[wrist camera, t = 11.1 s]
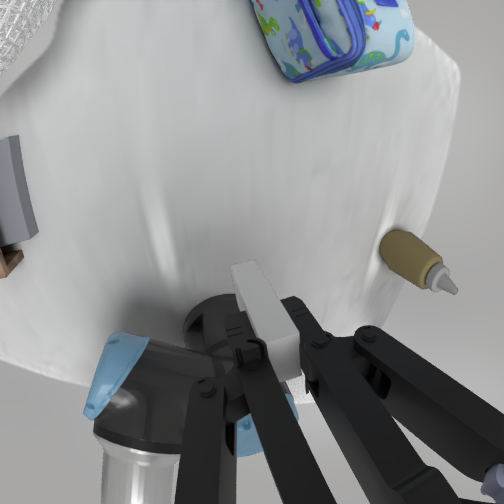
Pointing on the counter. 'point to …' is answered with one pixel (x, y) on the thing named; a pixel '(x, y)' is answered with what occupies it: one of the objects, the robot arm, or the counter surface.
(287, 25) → the lunch box
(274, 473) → the robot arm
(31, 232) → the panel
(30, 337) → the counter surface
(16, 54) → the heart
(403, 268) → the squeeze bottle
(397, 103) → the counter surface
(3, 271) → the walnut tunnel
